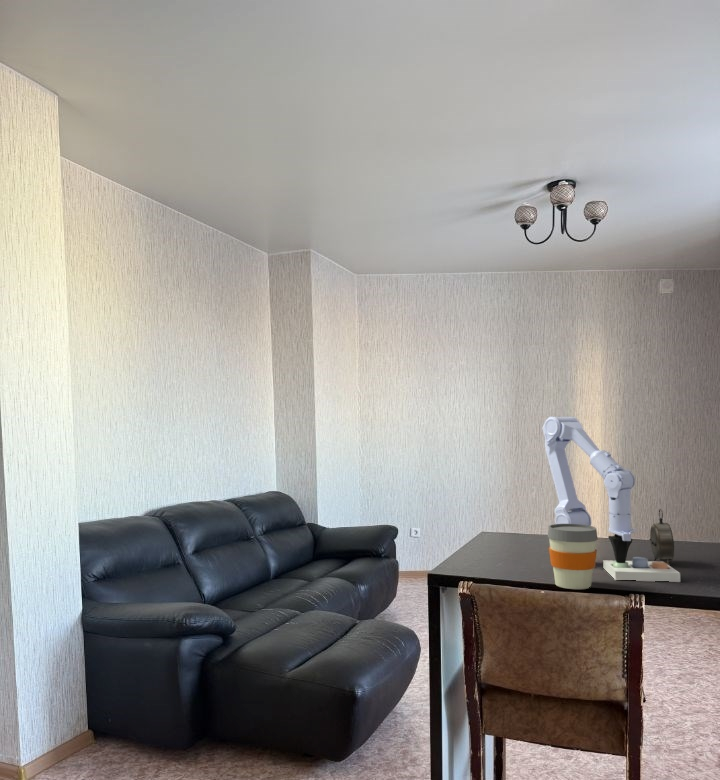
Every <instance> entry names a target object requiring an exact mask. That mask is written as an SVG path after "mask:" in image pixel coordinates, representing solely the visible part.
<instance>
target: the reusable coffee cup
mask: <svg viewBox="0 0 720 780" xmlns="http://www.w3.org/2000/svg"><path fill="white" fill-rule="evenodd" d="M547 538H548V540H549V546H548V553H549V559H550V565H551V566H552V569H553V574H554V576H553V577H554V584H555V585H556V587H559V588H563V589H569V590H586V589H590V588H591V587H590V586H592V581H593V572H594V569H595V568H596V562H597V553H598V552H597V551H598V550H597V549H596V546H597V541H598V531H597V528H596V527H595V526H592V525H591V526H589V525H582V524H554V523H553V524H549V525H548V529H547ZM589 587H590V588H589Z"/></svg>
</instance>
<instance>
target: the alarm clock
mask: <svg viewBox="0 0 720 780" xmlns="http://www.w3.org/2000/svg"><path fill="white" fill-rule="evenodd" d="M663 513H664V511H663V509H662V508H659V510H658V516H659V519H658V520H659V522H655V523H653V524H652V525H651V527H650V535H649V537H650V538H649V539H648V540H649V541H650V546H651V547H650V548H651V551H652V554H653V557H654V560H653V561H658V562H664V561H666V562H665V563H667V564H668V565H669V566H670V561H673V559H674V557H675V542H674V534H673V531H672V528H671V525H670V524H669V523H668V522H664V521H663V520H664V519H663V517H664V514H663ZM660 514H661V515H660ZM670 567H671V566H670Z"/></svg>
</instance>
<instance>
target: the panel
mask: <svg viewBox="0 0 720 780" xmlns="http://www.w3.org/2000/svg"><path fill="white" fill-rule="evenodd" d="M602 561H603V562H602V564H603V565H602V567H603V568H604V569H605V570H606V571H607V572H608V573H609V574H610V575H611V576H612V577H613V578H614V579H613V578H612V577H611V576H610V575H609V574H608V573H607V574H608V575H609V576H610V577H611V578H612V579H613V580H614V581H616V580H636V581H635V582H655V581H669V582H668V583H681V572H679V571H678V570H676V569H675V568H673V567H672V566H669V565H670V564H669V565H668V569H653V568H652V562H658V560H655V561H654V560H653V561H652V560H651V561H648V568H633V567H632V560H626V561H625V562H628V568H614V567H613V561H614V560H606V559H605V560H602ZM663 562H664V561H663ZM664 563H666V562H664ZM604 569H603V570H604ZM605 570H604V571H605ZM606 571H605V572H606Z"/></svg>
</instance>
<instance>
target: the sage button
mask: <svg viewBox="0 0 720 780" xmlns="http://www.w3.org/2000/svg"><path fill="white" fill-rule="evenodd" d="M612 561H613V567H614V568H628V562H625V563H617V562H616V560H612Z"/></svg>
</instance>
